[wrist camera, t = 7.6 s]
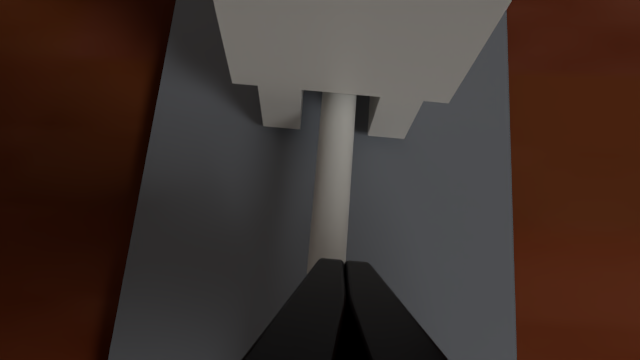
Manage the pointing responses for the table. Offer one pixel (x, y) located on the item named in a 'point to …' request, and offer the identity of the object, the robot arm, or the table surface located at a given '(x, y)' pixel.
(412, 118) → the stepped pale block
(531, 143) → the table surface
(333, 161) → the flat grey panel
